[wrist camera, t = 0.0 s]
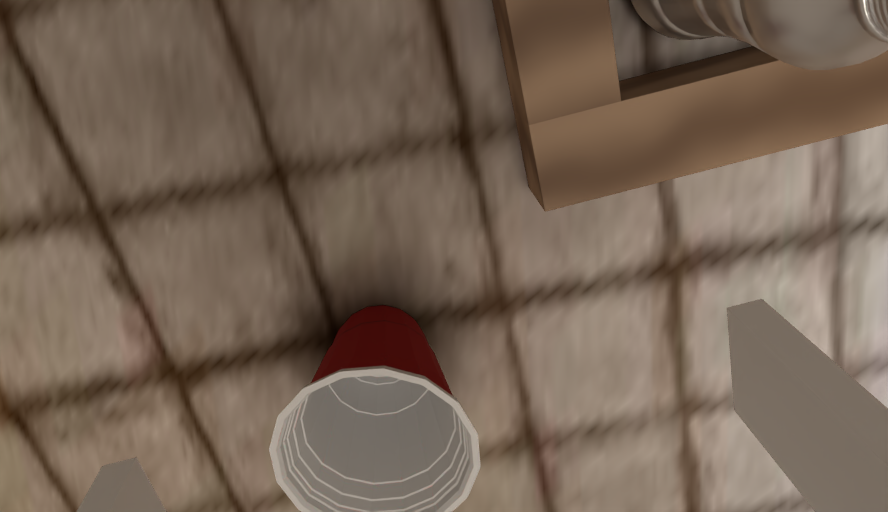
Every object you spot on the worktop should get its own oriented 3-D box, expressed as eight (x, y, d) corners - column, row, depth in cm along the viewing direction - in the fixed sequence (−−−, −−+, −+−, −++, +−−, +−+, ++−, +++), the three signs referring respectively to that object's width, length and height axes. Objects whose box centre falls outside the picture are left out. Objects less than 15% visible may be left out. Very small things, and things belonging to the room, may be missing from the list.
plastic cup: (297, 262, 42) (266, 368, 31) (466, 273, 43) (495, 378, 32) (293, 405, 46) (265, 542, 35) (447, 411, 47) (467, 545, 36)
